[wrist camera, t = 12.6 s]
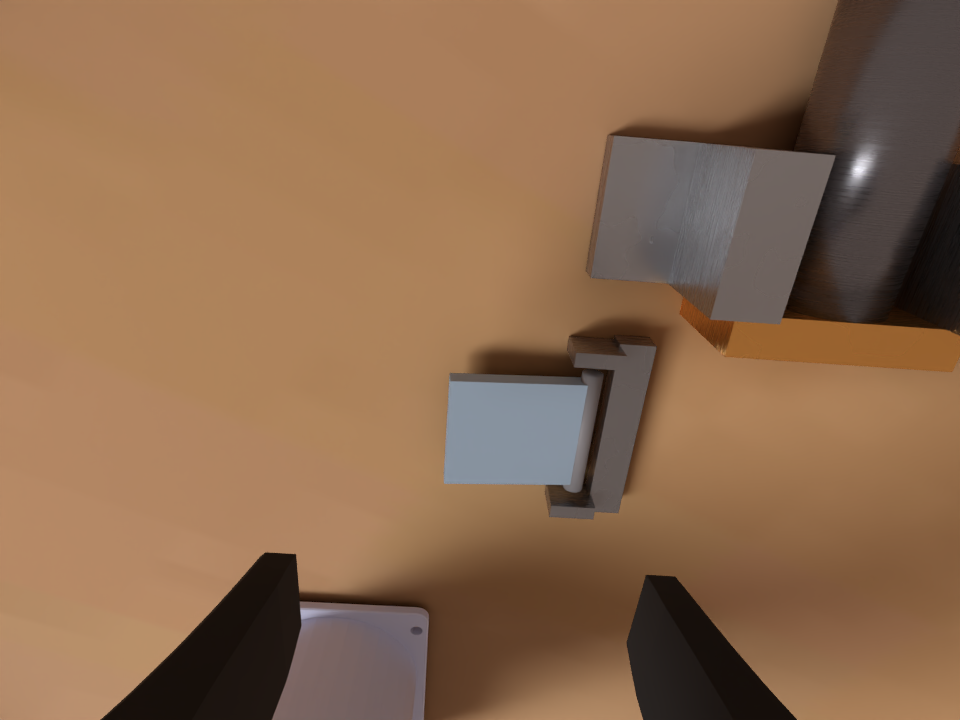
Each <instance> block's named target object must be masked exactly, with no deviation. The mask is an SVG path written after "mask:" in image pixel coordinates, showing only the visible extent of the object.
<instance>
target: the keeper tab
mask: <svg viewBox="0 0 960 720" xmlns="http://www.w3.org/2000/svg"><path fill="white" fill-rule="evenodd" d="M603 376H604V374H603V373H602V372H600V371H598V370H595V369H585V370H583V371H582V376H581V377H557V376H526V375H496V374H466V373H450V377H449V394H448V411H447V428H446V445H445V463H444V484H533V485H563V487H564V489H565V490H567V491H569V492H573V493H577V492H580V491H581V490H582V486H583V481H584V475H585V470H586V465H587V460H588V455H589V449H590V444H591V439H592V434H593V429H594V423H595V418H596V413H597V408H598V402H599V397H600V392H601V387H602V382H603Z"/></svg>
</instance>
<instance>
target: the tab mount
mask: <svg viewBox="0 0 960 720" xmlns="http://www.w3.org/2000/svg"><path fill="white" fill-rule="evenodd" d="M656 348H657V346H656V345H655V344H654V343H653V341H652V340H651V339H650V338H649V337H636V336H621V335H614V339H604V338H589V337H575V336H569V341H568V347H567V351H568V353H569V356H570V358H571V361H572V364H573V366H574V367H576V368H591V369H606V370H607V375H606V380H605V385H604V390H603V395H602V400H601V406H600V411H599V416H598V421H597V426H596V431H595V436H594V442H593V447H592V452H591V457H590V462H589V467H588V473H587V478H586V483H585V484H583V486H582V490H581V491H580V492H577V493H573V492H569V491H567V490H565V489H564V487H563V485H546V488H545V496H546V501H547V507H548V512H549V517H560V518H578V519H593V517H594V512H607V513H618V512H619V508H620V503H621V499H622V495H623V490H624V486H625V482H626V477H627V473H628V469H629V464H630V460H631V456H632V451H633V447H634V443H635V439H636V434H637V430H638V426H639V421H640V417H641V413H642V408H643V404H644V400H645V395H646V391H647V387H648V383H649V378H650V374H651V370H652V365H653V361H654V357H655V352H656Z"/></svg>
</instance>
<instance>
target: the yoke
mask: <svg viewBox="0 0 960 720" xmlns="http://www.w3.org/2000/svg"><path fill="white" fill-rule="evenodd" d="M835 157H836V155H827V154H817V153H807V152H797V151H787V150H778V149H768V148H758V147H747V146H735V145H723V144H711V143H699V142H687V141H675V140H663V139H651V138H639V137H627V136H615V135H608V136H607V142H606V149H605V155H604V161H603V167H602V173H601V179H600V186H599V192H598V198H597V204H596V210H595V217H594V223H593V229H592V235H591V241H590V248H589V254H588V260H587V266H586V272H587V274H588V275H589V276H590V278H599V279H613V280H626V281H640V282H654V283H668V284H669V285H670V286H672V287H673V288H674V289H675V290H676V291H677V292H679V293H680V294H681V295H682V296H683V297H684V298H686V299H687V300H688V301H689V302H690V303H691V304H693V305H694V306H695V307H696V308H697V309H698V310H700V311H701V312H702V313H703V314H704V315H705V316H707V317H708V318H709V319H710V320H724V321H738V322H752V323H767V324H780V323H781V320H782V317H783V314H784V311H785V308H786V305H787V302H788V299H789V296H790V293H791V290H792V287H793V284H794V281H795V278H796V275H797V272H798V269H799V266H800V263H801V260H802V257H803V254H804V250H805V247H806V244H807V241H808V238H809V235H810V232H811V229H812V226H813V223H814V220H815V217H816V214H817V211H818V208H819V205H820V202H821V199H822V196H823V193H824V190H825V187H826V184H827V181H828V178H829V175H830V172H831V169H832V166H833V163H834V160H835ZM893 306H894V307H897V308H899V309H901V310H903V311H906V312H908V313H910V314H912V315H914V316H917V317H919V318H921V319H923V320H926V321H928V322H930V323H932V324H935V325H937V326H939V327H941V328H943V329H946V330H948V331H950V332H952V333H955V334H957V335H959V336H960V164H952V165H951V168H950V170H949V173H948V175H947V177H946V180H945V182H944V185H943V187H942V189H941V192H940V194H939V197H938V199H937V201H936V204H935V206H934V209H933V211H932V213H931V216H930V218H929V221H928V223H927V225H926V228H925V230H924V233H923V235H922V237H921V240H920V242H919V245H918V247H917V249H916V252H915V254H914V257H913V259H912V261H911V264H910V266H909V269H908V271H907V273H906V276H905V278H904V281H903V283H902V285H901V288H900V290H899V293H898V295H897V297H896V300H895V302H894V305H893Z"/></svg>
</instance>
